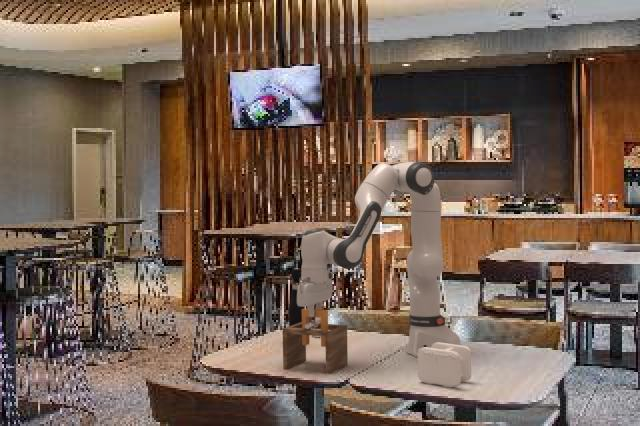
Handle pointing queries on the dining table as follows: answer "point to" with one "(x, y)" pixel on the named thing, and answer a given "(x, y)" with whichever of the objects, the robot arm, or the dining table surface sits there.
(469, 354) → the cable organizer
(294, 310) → the wine bottle
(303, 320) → the wooden u-shaped block
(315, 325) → the hook rod
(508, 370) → the dining table surface
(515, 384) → the dining table surface
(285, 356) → the walnut shelf
